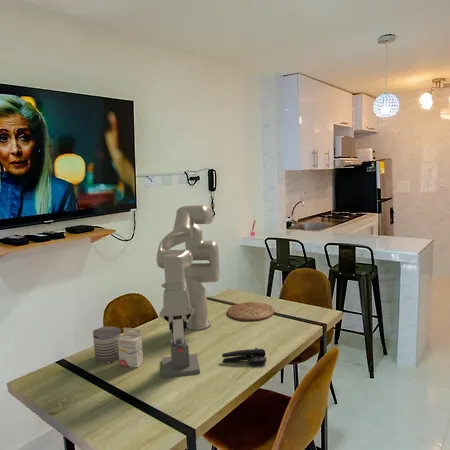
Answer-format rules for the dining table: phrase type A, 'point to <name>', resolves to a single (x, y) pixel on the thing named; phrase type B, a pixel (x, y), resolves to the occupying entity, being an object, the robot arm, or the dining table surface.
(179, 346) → the stand
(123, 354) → the ink cartridge box
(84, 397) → the dining table surface
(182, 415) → the dining table surface
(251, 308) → the trivet
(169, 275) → the robot arm
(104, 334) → the can
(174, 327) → the column
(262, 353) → the can opener
